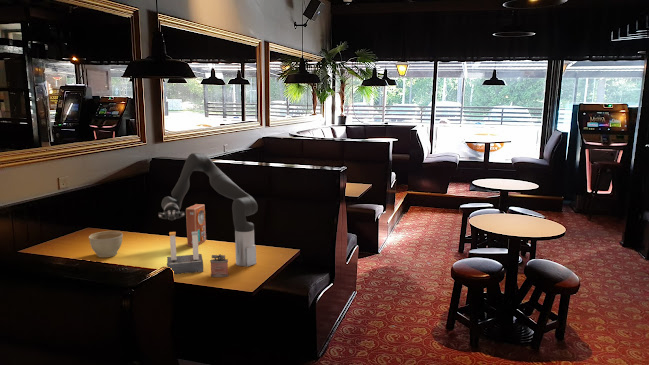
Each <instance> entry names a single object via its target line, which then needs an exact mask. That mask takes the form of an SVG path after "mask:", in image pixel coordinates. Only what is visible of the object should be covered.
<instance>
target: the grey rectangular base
mask: <svg viewBox="0 0 649 365" xmlns="http://www.w3.org/2000/svg"><path fill="white" fill-rule="evenodd" d="M198 254H199V259H198V260H193V254H186V255H176V258H177V260H171V256H168V257H167V258H166V259H167V261H166V262H167V263H166V266H167V267H170V268H172V270H173V271H174V274H175V275H182V274H181V273H184V274H191V273H201V272H204V258H203V255H202V253H198Z"/></svg>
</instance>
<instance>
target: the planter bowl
mask: <svg viewBox="0 0 649 365" xmlns="http://www.w3.org/2000/svg"><path fill="white" fill-rule="evenodd" d="M123 234H124V233H123V232H121V231H116V230H115V231H114V230H107V231H100V232H94V233H91V234H90V235H89V236H88V240H89V244H90V247H91V249H92V250H93V252H94V253H95V254H96V256H97V257H99V258H110V257H111V258H112V257H115V256H116V255H117V254H118V252H119V250H120V248H121V246H122V244H123V236H124V235H123Z"/></svg>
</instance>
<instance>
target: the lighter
mask: <svg viewBox="0 0 649 365" xmlns="http://www.w3.org/2000/svg"><path fill="white" fill-rule="evenodd" d="M209 262H210V277H212V278H227V277H229V276H230V275H229V267H228V266H229V264H228V262H229V260H228V258H226V255H225V254H224V255H223V254H218V255H217V254H211V259H210V260H209Z"/></svg>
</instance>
